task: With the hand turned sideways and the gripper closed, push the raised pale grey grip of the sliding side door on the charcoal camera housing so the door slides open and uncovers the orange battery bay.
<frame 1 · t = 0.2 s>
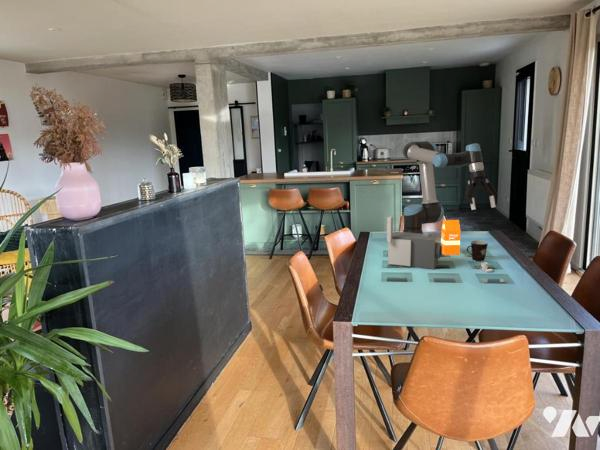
hand: (483, 208, 252), 28 cm above the table, tool tilted 20°, fingers open, 13 cm apart
orange juice: (449, 253, 267), on the table
coffee mug: (475, 260, 252), on the table
camera housing: (413, 264, 248), on the table
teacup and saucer: (481, 272, 233), on the table
side door: (399, 241, 240), point 14 cm above the table, slide at 0.0 cm
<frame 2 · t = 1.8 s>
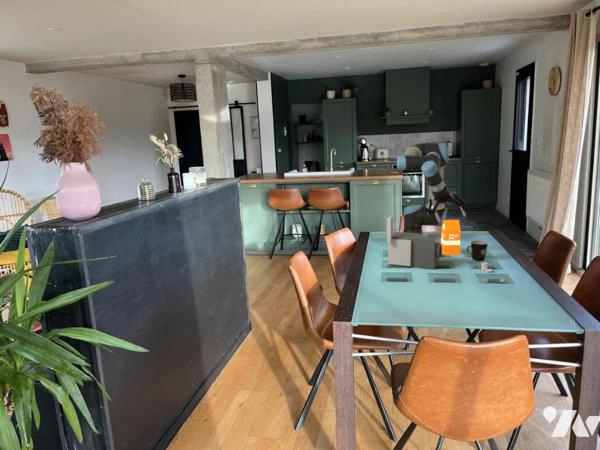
hand: (451, 218, 245), 24 cm above the table, tool tilted 35°, fingers open, 13 cm apart
nothing on the table moved.
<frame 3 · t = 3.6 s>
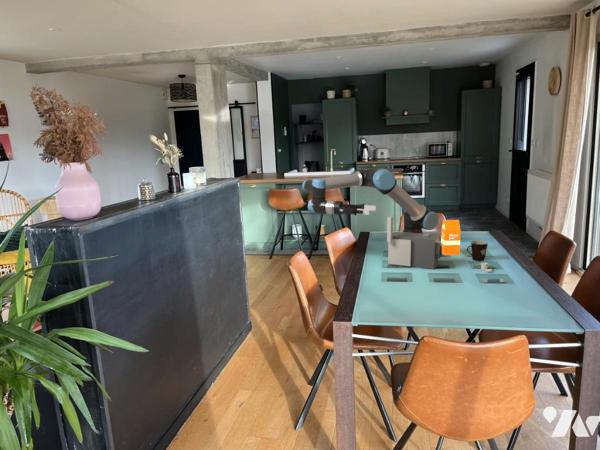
hand: (372, 210, 243), 30 cm above the table, tool horizontal, fingers open, 13 cm apart
nothing on the table moved.
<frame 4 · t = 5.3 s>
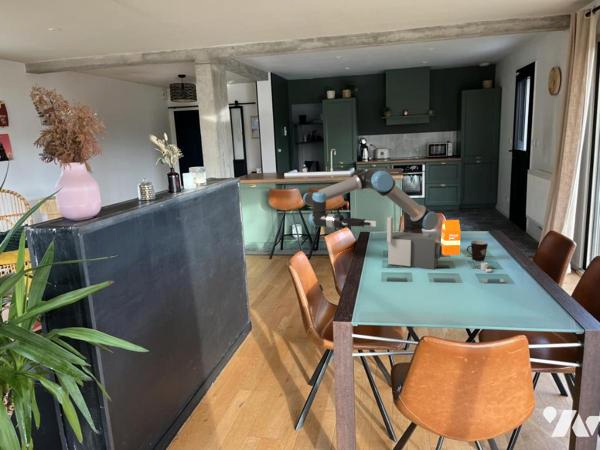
hand: (376, 223, 244), 23 cm above the table, tool horizontal, fingers closed
nothing on the table moved.
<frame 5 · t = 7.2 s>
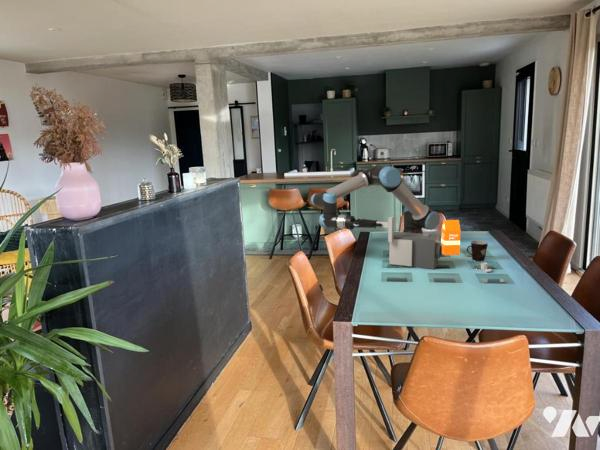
hand: (388, 225, 240), 23 cm above the table, tool horizontal, fingers closed
side door: (400, 242, 240), point 14 cm above the table, slide at 0.7 cm, touching gripper
everything else where it was.
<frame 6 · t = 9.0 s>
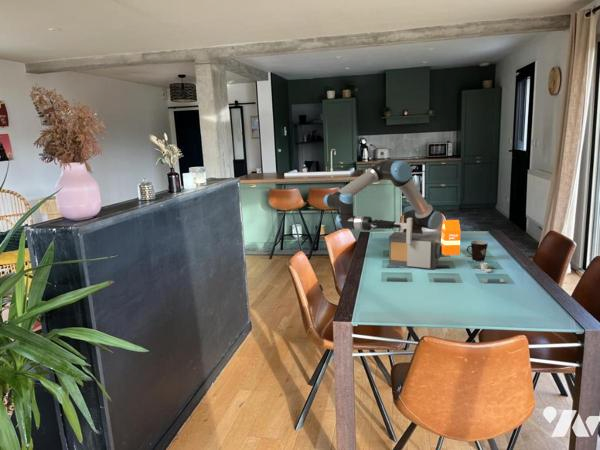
hand: (406, 226, 236), 23 cm above the table, tool horizontal, fingers closed
side door: (418, 243, 236), point 14 cm above the table, slide at 10.3 cm, touching gripper
everything else where it was.
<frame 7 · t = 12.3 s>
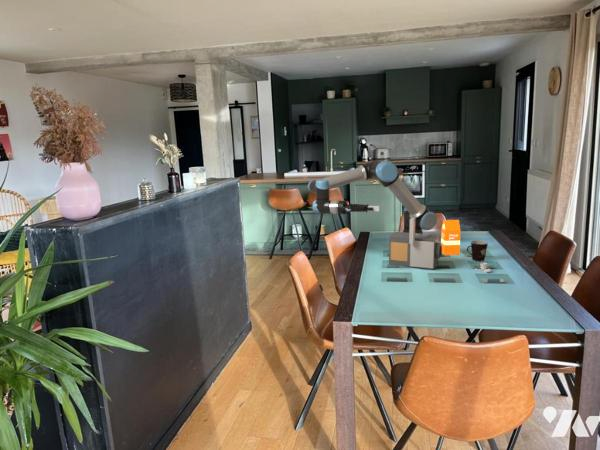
hand: (379, 208, 248), 30 cm above the table, tool horizontal, fingers closed
side door: (421, 243, 235), point 14 cm above the table, slide at 11.8 cm
everything else where it was.
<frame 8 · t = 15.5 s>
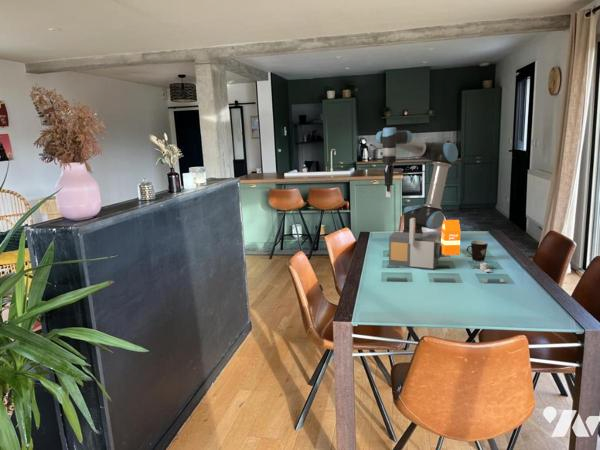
hand: (388, 196, 261), 34 cm above the table, tool pointing down, fingers closed
at the end: side door slide at 11.8 cm; coffee mug moved 0.2 cm from its start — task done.
